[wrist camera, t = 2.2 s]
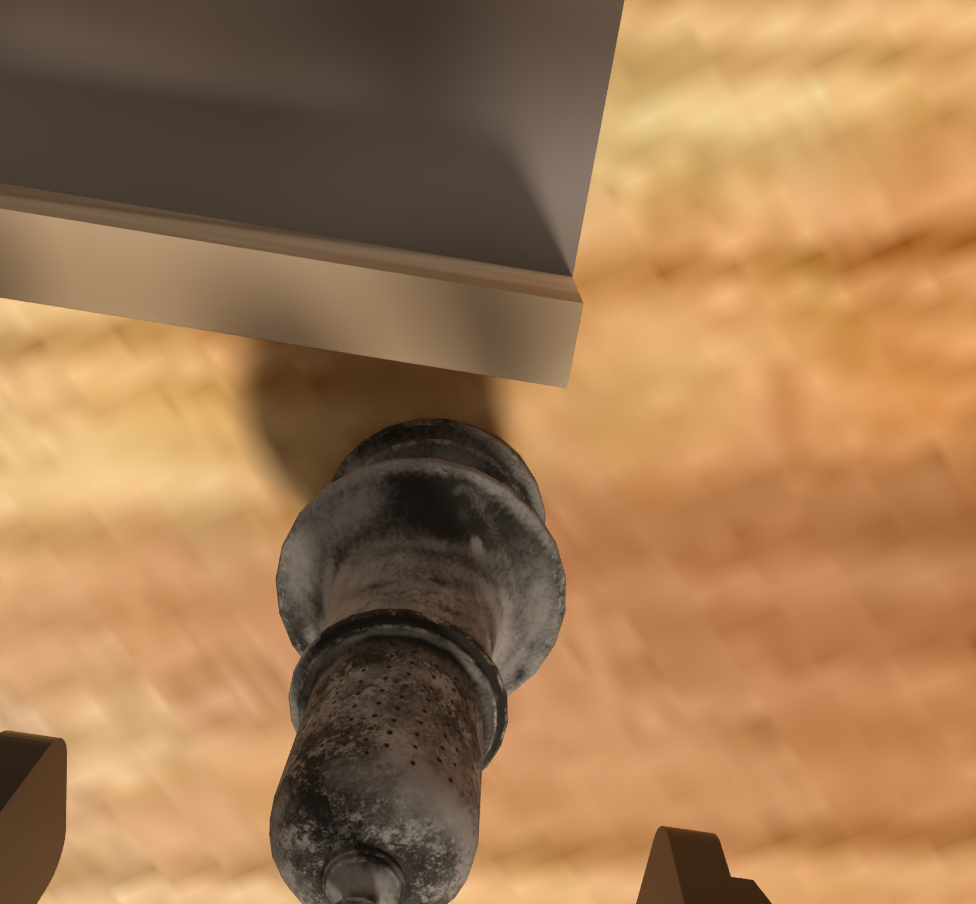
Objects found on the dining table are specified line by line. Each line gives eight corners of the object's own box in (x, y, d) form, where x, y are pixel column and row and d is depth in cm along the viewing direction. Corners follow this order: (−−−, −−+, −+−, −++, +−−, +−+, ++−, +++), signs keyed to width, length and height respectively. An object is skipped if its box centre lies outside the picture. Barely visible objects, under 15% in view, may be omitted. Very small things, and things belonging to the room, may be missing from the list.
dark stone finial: (377, 664, 23) (248, 1175, 12) (268, 462, 21) (-6, 835, 10) (595, 583, 22) (679, 1053, 11) (499, 366, 21) (484, 658, 9)
